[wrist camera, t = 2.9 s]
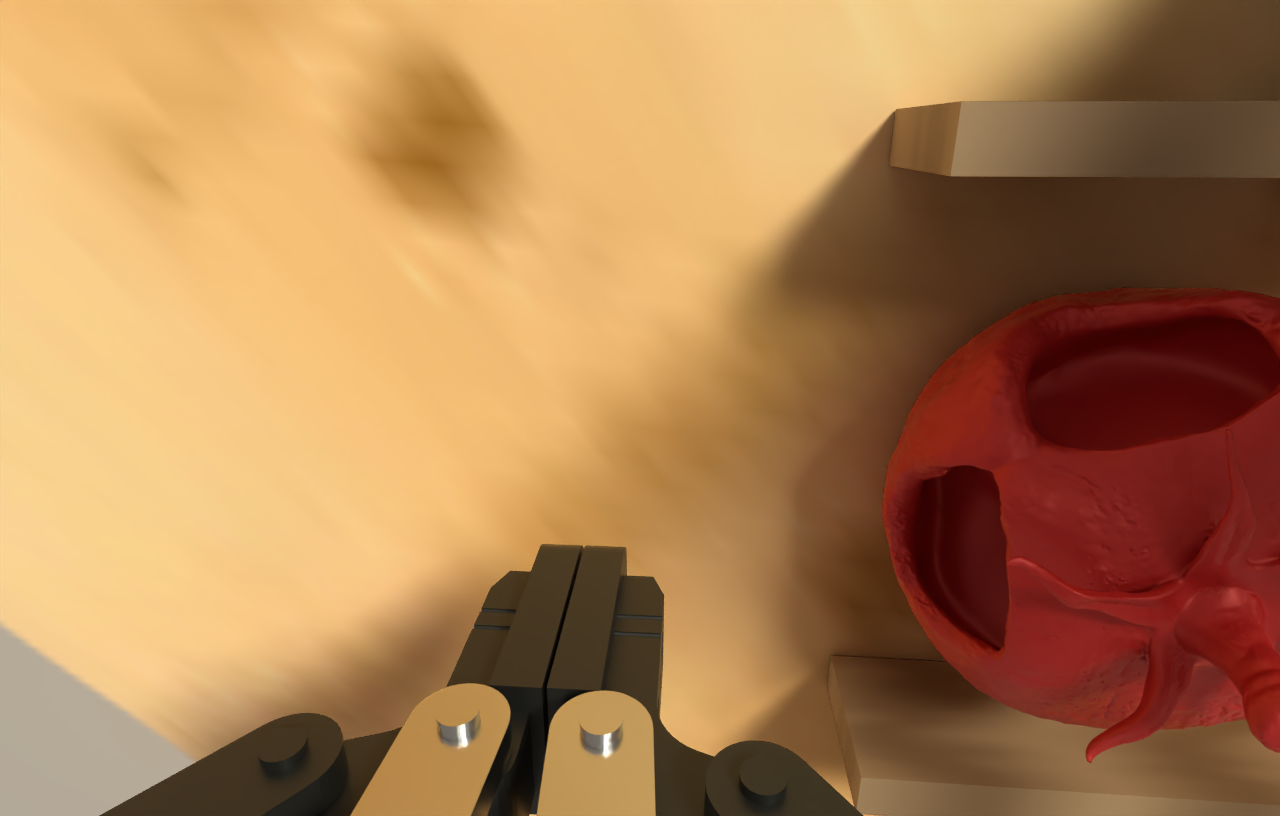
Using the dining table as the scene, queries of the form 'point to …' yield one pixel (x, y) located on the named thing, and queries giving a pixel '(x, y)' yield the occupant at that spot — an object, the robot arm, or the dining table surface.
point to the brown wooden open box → (935, 691)
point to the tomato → (1103, 511)
